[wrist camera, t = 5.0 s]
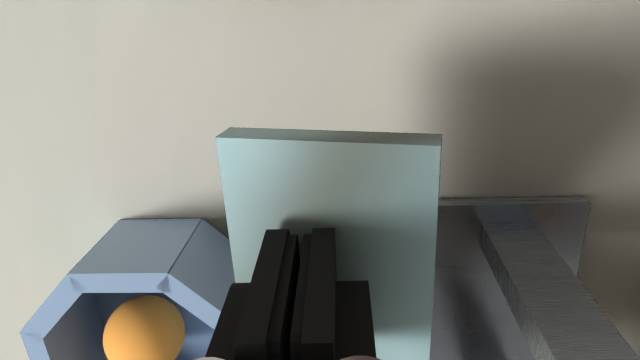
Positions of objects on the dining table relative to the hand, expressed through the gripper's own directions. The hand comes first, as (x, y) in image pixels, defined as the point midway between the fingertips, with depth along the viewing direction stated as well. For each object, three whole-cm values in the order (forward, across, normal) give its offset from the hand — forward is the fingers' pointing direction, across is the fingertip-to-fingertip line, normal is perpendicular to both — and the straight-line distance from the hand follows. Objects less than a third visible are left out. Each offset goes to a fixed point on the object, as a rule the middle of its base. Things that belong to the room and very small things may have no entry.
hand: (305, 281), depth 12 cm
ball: (+6, +7, +6) cm, 11 cm away
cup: (+8, +7, +6) cm, 12 cm away
